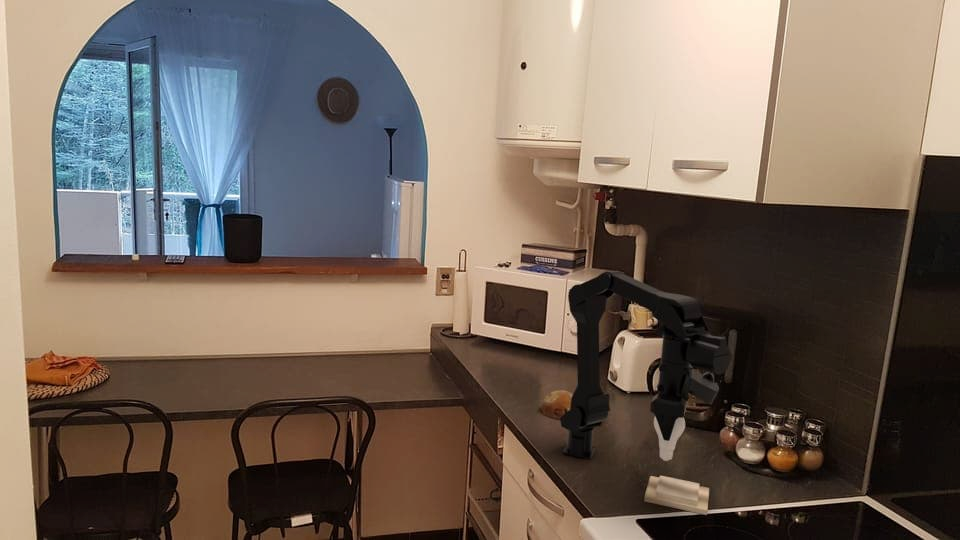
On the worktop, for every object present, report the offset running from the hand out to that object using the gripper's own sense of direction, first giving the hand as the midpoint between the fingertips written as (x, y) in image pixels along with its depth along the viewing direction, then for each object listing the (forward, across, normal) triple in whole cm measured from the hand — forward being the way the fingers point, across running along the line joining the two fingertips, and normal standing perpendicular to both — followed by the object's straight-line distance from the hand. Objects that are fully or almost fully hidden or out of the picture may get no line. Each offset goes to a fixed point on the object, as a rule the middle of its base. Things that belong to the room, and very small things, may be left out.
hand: (668, 434), depth 136 cm
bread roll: (+13, +34, +30) cm, 48 cm away
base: (+13, +1, -3) cm, 14 cm away
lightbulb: (+6, 0, 0) cm, 6 cm away
